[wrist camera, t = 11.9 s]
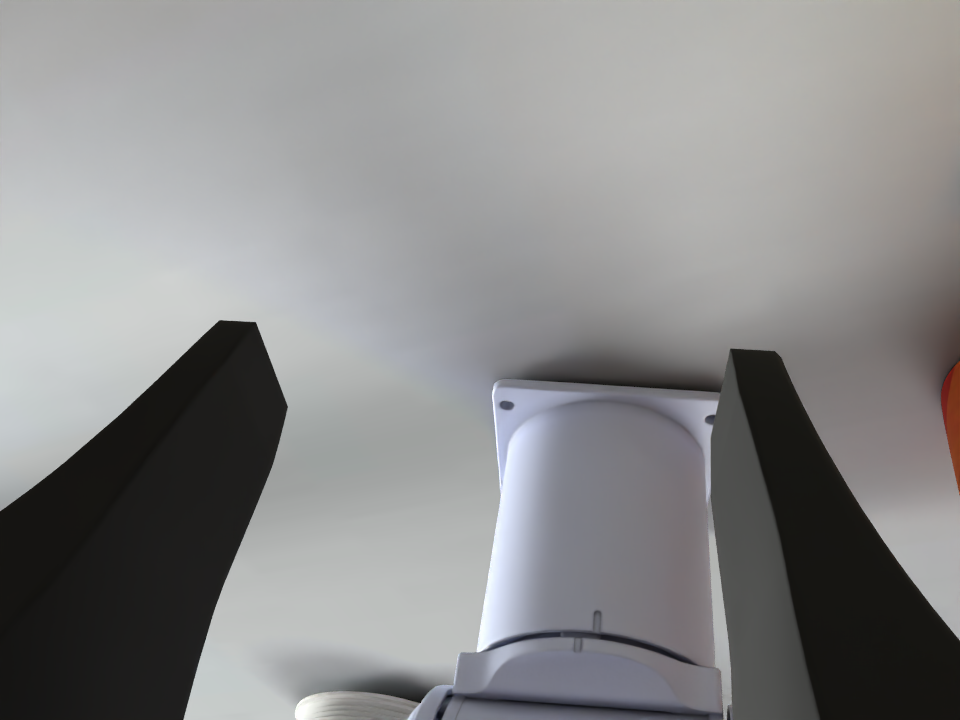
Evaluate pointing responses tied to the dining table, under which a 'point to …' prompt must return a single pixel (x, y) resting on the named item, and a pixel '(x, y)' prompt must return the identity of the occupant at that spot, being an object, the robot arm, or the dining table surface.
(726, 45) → the dining table surface
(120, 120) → the dining table surface
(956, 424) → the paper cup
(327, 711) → the lid
